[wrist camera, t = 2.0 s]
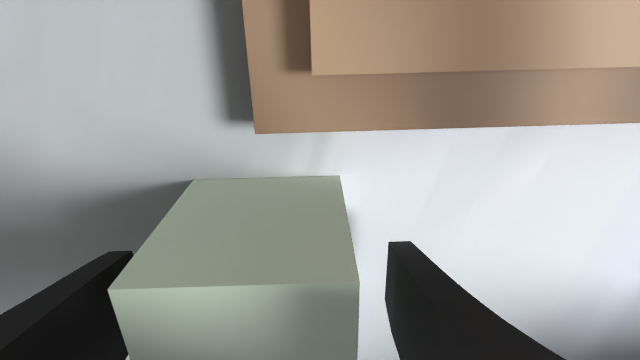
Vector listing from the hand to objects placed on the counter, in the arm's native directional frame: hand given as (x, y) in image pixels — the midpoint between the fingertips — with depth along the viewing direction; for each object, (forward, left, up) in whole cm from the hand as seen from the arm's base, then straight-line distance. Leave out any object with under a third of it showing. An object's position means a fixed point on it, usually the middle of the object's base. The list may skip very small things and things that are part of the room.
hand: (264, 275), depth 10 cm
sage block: (0, 0, -2) cm, 2 cm away
